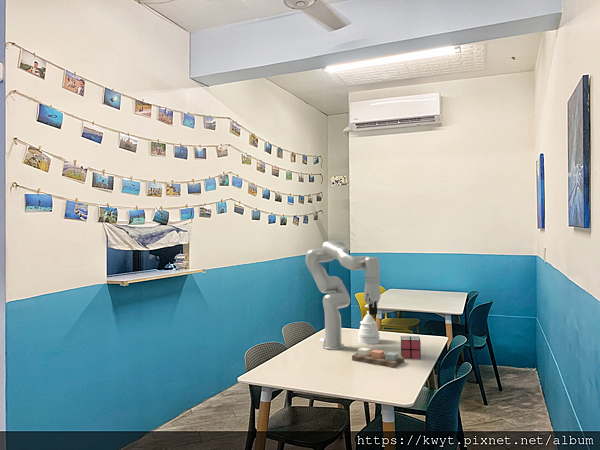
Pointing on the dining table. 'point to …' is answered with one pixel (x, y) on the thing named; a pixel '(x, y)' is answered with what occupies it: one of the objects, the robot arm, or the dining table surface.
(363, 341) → the honey pot
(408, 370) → the dining table surface
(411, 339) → the puzzle cube
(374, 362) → the key panel
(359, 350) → the button cream
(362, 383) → the dining table surface
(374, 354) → the button terracotta
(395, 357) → the button sage
